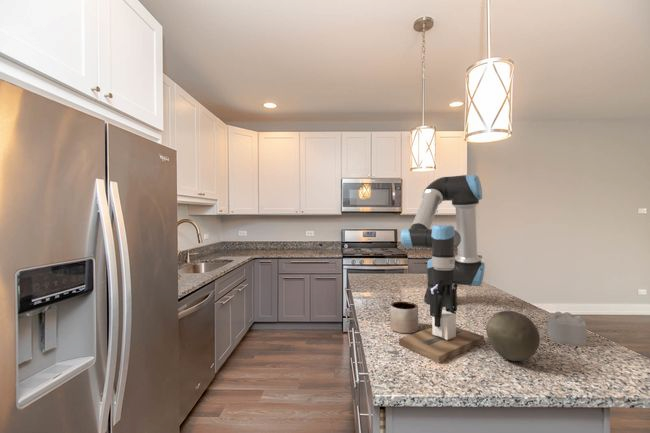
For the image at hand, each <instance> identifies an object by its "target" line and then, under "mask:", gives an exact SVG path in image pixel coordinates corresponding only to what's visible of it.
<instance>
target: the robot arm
mask: <svg viewBox="0 0 650 433" xmlns="http://www.w3.org/2000/svg"><path fill="white" fill-rule="evenodd" d="M421 198H422V200H421V203H420V205H419V207H418V209H417V211H416V214H415V216H414V219H413V220H412V223H411V226H410V228H409V227H408V228H404V229H402V230H401V233H400V242H401V245H402V246H403V247H406V248H411V249H413V248H415V249H416V248H421V249H431V258H430V259H428V261H427V264H426V265H427V266H426V269H427V270H426V271H427V272H426V274H427V275H426V276H427V278H426V279H427V287H426V290H425V293H424V296H423V302H424V303H425V304H428V305H429V315H430V316H431V317H432V316H433V317H434V318H435V335H437V336H440V337H443V318H441V315H442V310H443V307H445V311H447V312H451V313H454V314H456V315H457V312H458V299H457V298H458V297H457V296H458V293H457V292H458V285H462V286H469V287H480V286H482V283H483V280H484V275H485V262H483V261H482V259H481V257H480V256H478V245H477V244H478V242H477V240H478V239H477V218H476V207H477V205H479V202H480V201H481V200H482V199H483V188H482V183H481V180H480V177H479V176H478V175H476V174H463V175H462V174H461V175H454V176H443V177H438V178H437V179H435V180H433V181H431V183H429V184H428V186H426V187H425V189H424V191H423V192H422V196H421ZM444 201H451V205H452V206H453V207H454V208H455V221H456V222H455V223H456V229H455V226H454V225H452V224H438V225H437V224H435V225H433V226H431V225H432V223H433V221H434V218H435V216H436V213H437V210H438V208H439V206H440V205H441V204H442V203H443V202H444ZM456 248H457V255H456V254H455V251H456V250H455V249H456Z"/></svg>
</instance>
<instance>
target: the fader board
mask: <svg viewBox="0 0 650 433" xmlns="http://www.w3.org/2000/svg"><path fill="white" fill-rule="evenodd" d="M398 342H399V343H398V345H399V346H400V347H403V348H404V349H406V350H409V351H412V352H414V353H416V354H418V355H420V356H421V357H422V356H423V357H424V358H426V359H429V360H431V361H433V362H435V363H437V364H440V363H443V362H444V361H447V360H449V359H451V358H454V357H456V356H458V355H460V354H462V353H464V352H467V351H469V350H471V349H473V348H476V347H478V346H480V345H481V344H483V343H485V336H484V335H482V334H478V333H475V332H473V331H469V330H467V329H463V328H460V327H457V326H456V337H454V338H451V339H449V340H446V339H443V338H441V337H438V336H435V335H433V334H432V326H431V327H428V328H426V329H422V330H420V331H416V332H415V333H411V334H409V335H406V336H403V337H400V338H399V339H398Z"/></svg>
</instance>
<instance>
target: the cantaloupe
mask: <svg viewBox="0 0 650 433" xmlns="http://www.w3.org/2000/svg"><path fill="white" fill-rule="evenodd" d="M486 336H487V340H488V341H489V343H490V345H491V347H492V348H493V350H494V352H496V353H497V354H498V355H499V356H500V357H502V358H504V359H506V360H508V361H510V362H511V361H512V362H519V361H520V362H521V361H526V360H528V359H531V357H532V358H533V356H534V355H535V354H536V353H537V351H538V348H539V347H540V343H541V341H540V338H541V336H540V333H539V329H538V327H537V326H536V324H535V323H534V322H533V321H532V319H530V318H529V317H528V316H526V315H524V314H523V313H521V312H517V311H512V310H502V311H498V312H495V314H493V315H492V316H491V317H490V319H489V320H488V321H487V323H486Z"/></svg>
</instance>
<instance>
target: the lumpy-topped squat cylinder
mask: <svg viewBox="0 0 650 433" xmlns="http://www.w3.org/2000/svg"><path fill="white" fill-rule="evenodd" d="M546 317H547V318H546V319H547V336H548V337H549V339H551V340H552V341H553V342H556V343H558V344H563V345H571V346H579V347H586V346H587V345H588V343H587V341H588V340H587V338H588V336H587V333H588V332H587V323H586V322H585V321H584V318H583V317H582V316H580V315H575V316H574V315H572V314H571V313H570V312H569V311H568V312H564V313H563V312H561V311H555V312H550V313H549V314H548V315H547V316H546Z"/></svg>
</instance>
